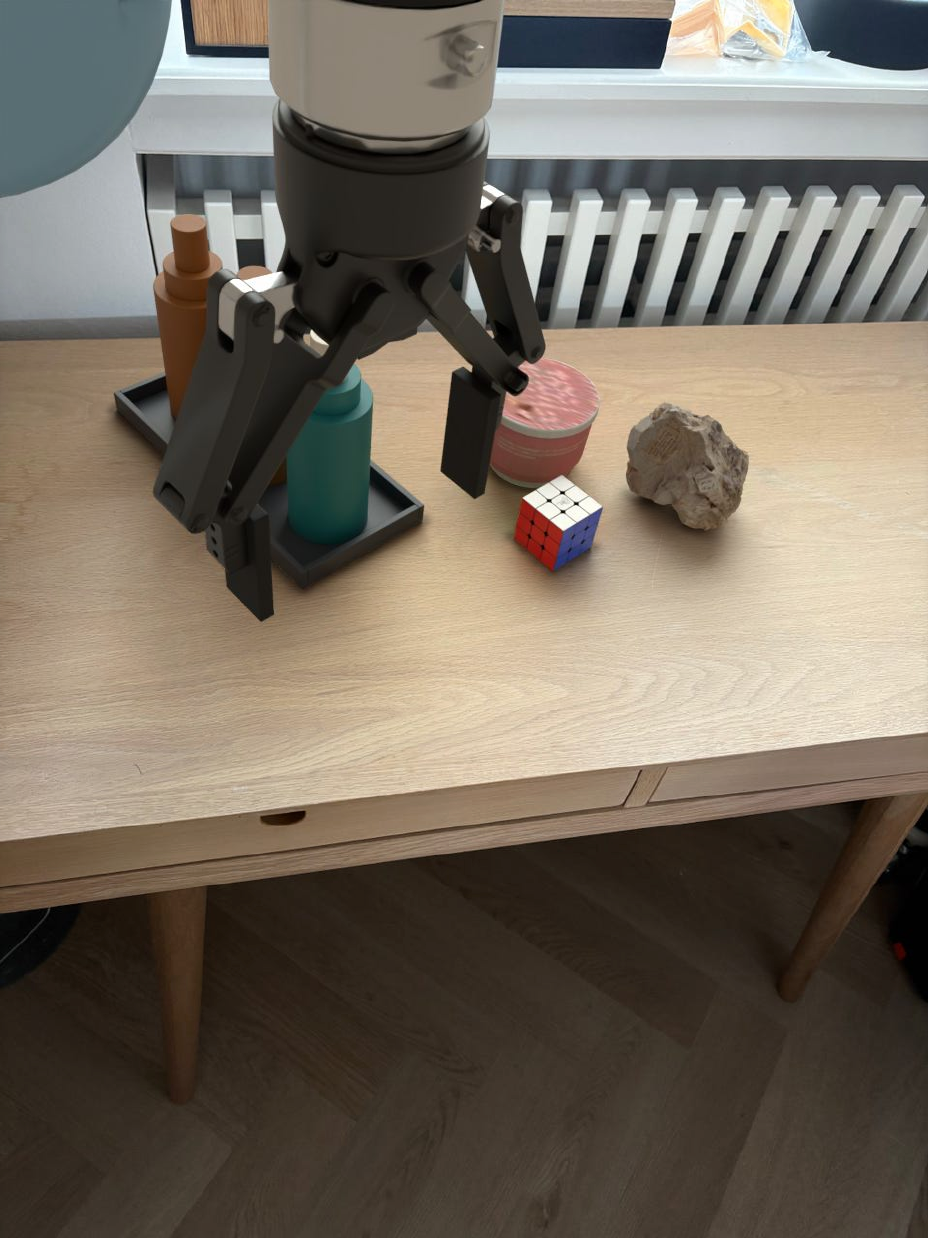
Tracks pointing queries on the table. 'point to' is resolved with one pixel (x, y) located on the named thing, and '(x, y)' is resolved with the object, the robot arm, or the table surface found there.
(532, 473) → the container
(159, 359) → the table surface
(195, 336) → the bottle far
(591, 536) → the rubik's cube
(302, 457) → the bottle
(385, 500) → the tray
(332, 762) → the table surface
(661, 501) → the rock
